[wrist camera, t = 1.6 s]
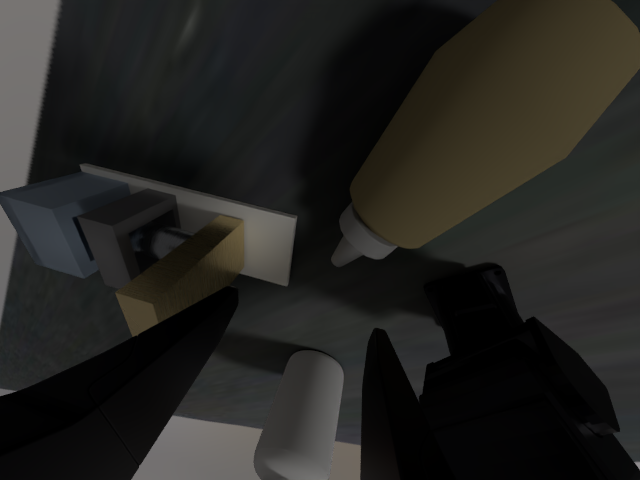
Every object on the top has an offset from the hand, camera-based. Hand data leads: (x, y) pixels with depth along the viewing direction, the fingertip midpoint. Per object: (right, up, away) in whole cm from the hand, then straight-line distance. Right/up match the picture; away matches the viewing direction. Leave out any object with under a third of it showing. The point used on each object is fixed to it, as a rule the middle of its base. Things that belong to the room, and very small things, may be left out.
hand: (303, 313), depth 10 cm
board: (-13, +5, +16) cm, 21 cm away
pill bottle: (0, -14, +24) cm, 28 cm away
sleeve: (-15, +5, +16) cm, 22 cm away
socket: (-21, +6, +16) cm, 28 cm away
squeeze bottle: (+12, +12, 0) cm, 17 cm away
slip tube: (-12, +4, +15) cm, 20 cm away
